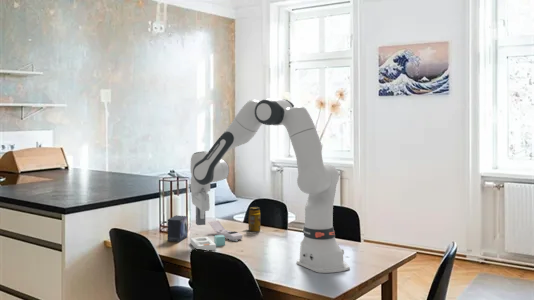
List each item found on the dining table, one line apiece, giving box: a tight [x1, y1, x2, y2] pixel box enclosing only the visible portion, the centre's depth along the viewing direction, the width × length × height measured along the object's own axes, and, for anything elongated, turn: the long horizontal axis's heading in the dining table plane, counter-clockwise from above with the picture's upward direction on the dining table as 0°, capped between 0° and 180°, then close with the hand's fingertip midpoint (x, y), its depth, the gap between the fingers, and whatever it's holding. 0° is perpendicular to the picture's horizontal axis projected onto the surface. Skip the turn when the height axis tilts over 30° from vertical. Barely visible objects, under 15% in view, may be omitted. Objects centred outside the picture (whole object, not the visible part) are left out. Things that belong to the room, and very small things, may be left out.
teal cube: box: [213, 234, 226, 247], centre depth 239 cm, size 4×4×4 cm
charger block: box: [195, 206, 206, 226], centre depth 238 cm, size 4×4×8 cm
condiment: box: [242, 206, 264, 234], centre depth 266 cm, size 7×8×12 cm
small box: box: [167, 214, 188, 243], centre depth 249 cm, size 11×6×10 cm, turn 168°
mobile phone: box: [208, 220, 243, 243], centre depth 255 cm, size 6×6×25 cm
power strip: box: [190, 236, 217, 251], centre depth 235 cm, size 16×8×3 cm, turn 20°
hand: (200, 217), depth 238 cm, fingers closed on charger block, 4 cm apart
